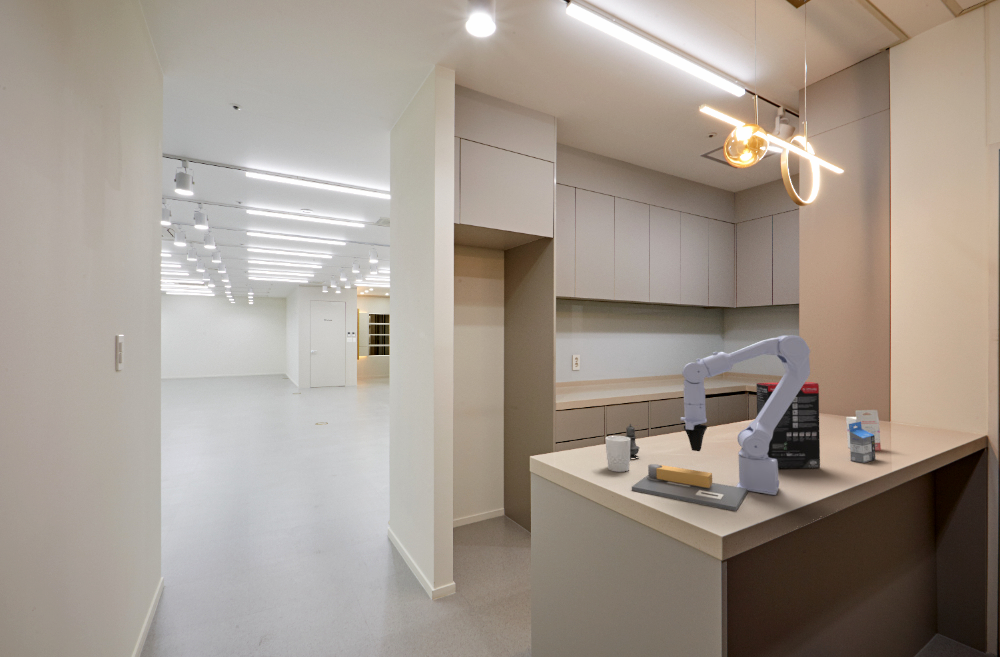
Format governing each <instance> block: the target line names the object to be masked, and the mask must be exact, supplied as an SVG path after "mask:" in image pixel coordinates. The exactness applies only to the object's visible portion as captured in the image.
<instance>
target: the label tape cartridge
mask: <svg viewBox="0 0 1000 657" xmlns="http://www.w3.org/2000/svg"><path fill="white" fill-rule="evenodd" d="M855 425H856V426H857V428H854V426H855ZM849 430H850V448H849V450H850V451H849V452H850V454H849V455H850V461H851V462H856V463H860V464H865V463H869V462H871V461H874V460H876V459H877V458H876V451H875V436H874V435H873V434H871V433H869V432H867V431H865V430H863V429H862V427H861V421H860V422H856V423H852V424H849Z"/></svg>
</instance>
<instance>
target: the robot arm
mask: <svg viewBox="0 0 1000 657" xmlns="http://www.w3.org/2000/svg"><path fill="white" fill-rule="evenodd" d="M810 353H811V349H810V348H809V346H808V344H807V342H806V340H805V339H804V338H803V337H801V336H799V335H795V334H790V335H785V334H784V335H779V336H777V337H771V338H767V339H764V340H760V341H758V342H755V343H753V344H750V345H748V346H745V347H743V348H740V349H738V350H736V351H733V352H730V353H727V352H724V351H719V352H718V351H714V352H712V354H711V355H709V356H706V357H703V358H700V357H698V358H696V359H695V360H696V362H689V363H687V364H685V365H684V367H683V368H682V369H683V370H682V371H681V372H682V376H683V378H684V381H683V386H684V387H683V406H684V407H683V408H684V412H683V413H684V417H683V416H681V417H680V419H679V420H680V421H683V422H684V423H685V425H684V426H683V430H684V431H685V433H686V434H687V438H688V440H689V445H690V448H691V451H694V452H700V451H701V449H702V445H703V440H704V435H705V433H706V430H707V428H708V425H705V424H706V423H707V422H708V419H707V415H706V414H707V413H706V409H707V408H706V389H705V382H704V381H705V379H706V378H713V377H715V376H718V375H721V374H723V373H727V372H729V371H731V370H732V368H733V366H734V365H735V364H738V363H741V362H744V361H748V360H749V359H753V358H756V357H759V356H762V355H770V356H776V357H777V358H778V359H779V361H781V363H782V365H783V369H784V370H785V372H784V374H783V375H782V377H781V379H780V380H779V381H778V382H777V383H778V385H777V386H776V388H775V390H774V391H773V393H772V394H771V396H770V397H769V399H768V400H767V402H766V403H765V405H764V407H763V408H762V410H761V411H760V413H759V414H758V416H757V415H756V417H755V419H754V420H753V421H751V422H750V423H749V424H748V426H747V427H746V428H744V429H742V430H740V432H739V433H738V435H737V442H738V445H739V447H741V448H740V450H739V451H738V454H737V455H738V456H737V457H738V473H739V474H738V479H739V480H738V482H737V485H736V486H735V487H740V488H746V489H747V492H748V491H749V492H754V493H761V494H764V495H765V494H766V495H770V496H771V495H772V496H776V495H777V493H778V491H779V488H780V480H779V468H778V463H777V459H773V458H769V457H768V455H767V453H768V451H769V443H770V441H771V439H772V436H773V431H774V429H775V427H776V426H777V424H778V423H779V421H780V420H781V418H782V416H783V415H784V413H785V412H786V410H787V409H788V407H789V406H790V404H791V403H792V401H793V400H794V398H795V397H796V395H797V394H798V392H799V391H800V389H801V388H802V386H803V385H804V383H805V382H807V380H808V379H809V377H810V374H811V367H810V366H811V364H810Z"/></svg>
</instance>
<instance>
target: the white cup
mask: <svg viewBox="0 0 1000 657" xmlns="http://www.w3.org/2000/svg"><path fill="white" fill-rule="evenodd" d="M625 436H626V435H625ZM625 436H624V435H609V436H606V437H605V438H604V439H605V452H606V460H607V469H608V470H609V471H612V472H615V473H616V472H617V473H625V471H626V472H628V470H630V462H631V459H630V438H629V437H625Z"/></svg>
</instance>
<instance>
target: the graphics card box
mask: <svg viewBox="0 0 1000 657" xmlns="http://www.w3.org/2000/svg"><path fill="white" fill-rule="evenodd" d="M778 383H779V382H757V383H756V417H757V416H758V414H759V413H760V411H761V410H762V408H763V407H764V405H765V403H766V402H767V400H768V399H769V397H770V396H771V394H772V393H773V391H774V390H775V388H776V386H777V385H778ZM819 387H820V385H819V382H812V381H810V382H809V381H805V383H804V385H803V386H802V388H801V389H800V391H799V392H798V394H797V395H796V397H795V398H794V400H793V401H792V403H791V404H790V406H789V407H788V409H787V410H786V412H785V413H784V415H783V416H782V418H781V420H780V421H779V423H778V424H777V426H776V427H775V429H774V431H773V436H772V439H771V441H770V443H769V451H768V453H767V455H768V457H769V458H773V459H777V463H778V469H820V468H821V449H820V447H821V446H820V439H821V438H820V436H821V435H820V388H819Z"/></svg>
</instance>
